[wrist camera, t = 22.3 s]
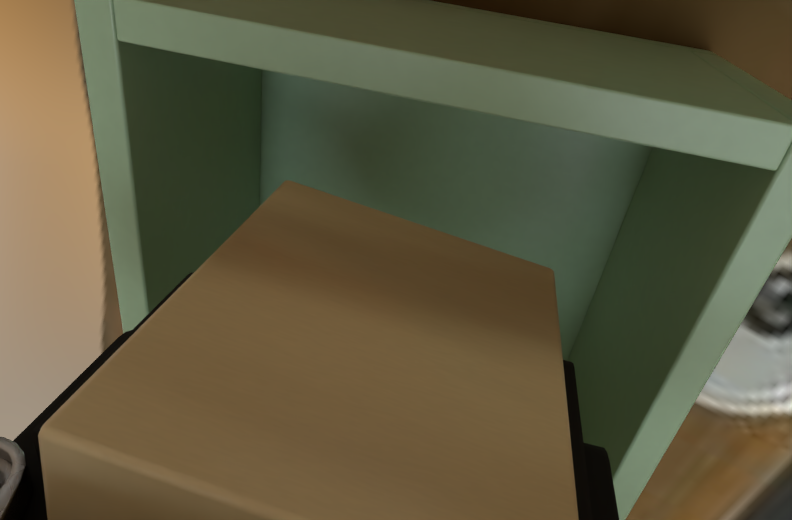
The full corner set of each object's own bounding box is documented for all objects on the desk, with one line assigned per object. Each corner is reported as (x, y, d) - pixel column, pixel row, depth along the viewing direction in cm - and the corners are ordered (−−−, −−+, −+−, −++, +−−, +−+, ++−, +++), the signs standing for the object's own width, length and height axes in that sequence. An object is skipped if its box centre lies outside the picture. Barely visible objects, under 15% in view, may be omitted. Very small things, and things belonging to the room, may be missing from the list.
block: (286, 176, 10) (31, 429, 5) (556, 268, 10) (594, 630, 5) (251, 375, 12) (61, 678, 7) (463, 450, 12) (421, 810, 7)
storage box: (249, -33, 17) (70, -13, 10) (712, 50, 15) (853, 136, 9) (248, 340, 24) (145, 490, 18) (559, 417, 23) (573, 610, 16)
